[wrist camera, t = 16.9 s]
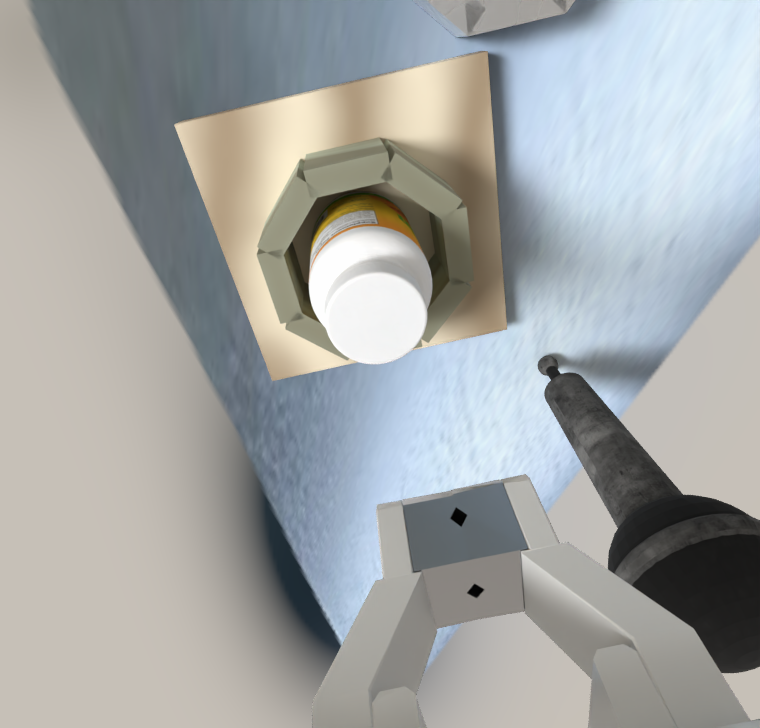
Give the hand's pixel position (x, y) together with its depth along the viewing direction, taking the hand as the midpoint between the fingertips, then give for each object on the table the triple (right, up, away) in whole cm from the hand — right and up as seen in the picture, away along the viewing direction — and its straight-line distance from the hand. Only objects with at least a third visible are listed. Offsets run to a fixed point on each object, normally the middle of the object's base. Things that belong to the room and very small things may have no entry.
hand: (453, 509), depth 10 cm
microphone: (+10, +3, +25) cm, 27 cm away
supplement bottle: (-3, +10, +18) cm, 20 cm away
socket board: (-2, +10, +19) cm, 21 cm away
